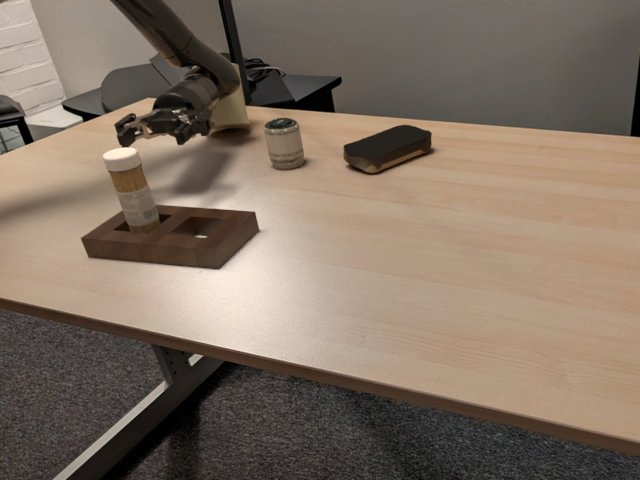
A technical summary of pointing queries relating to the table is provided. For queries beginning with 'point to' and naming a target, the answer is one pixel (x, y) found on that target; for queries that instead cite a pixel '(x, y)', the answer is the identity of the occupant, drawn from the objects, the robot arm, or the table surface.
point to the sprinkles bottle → (132, 189)
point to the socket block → (175, 237)
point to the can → (231, 109)
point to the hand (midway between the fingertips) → (150, 140)
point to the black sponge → (387, 148)
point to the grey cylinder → (284, 143)
